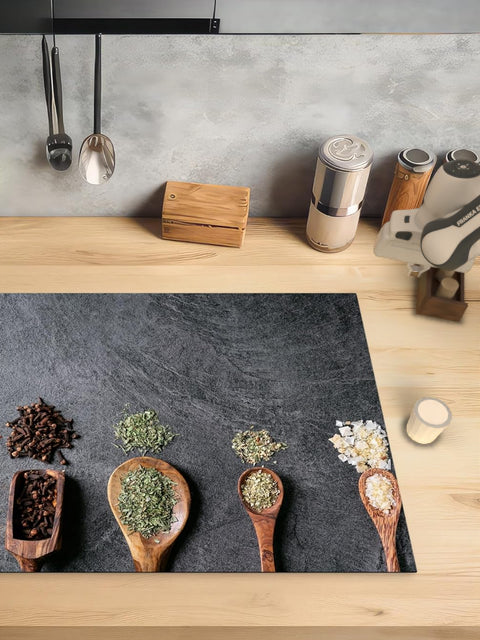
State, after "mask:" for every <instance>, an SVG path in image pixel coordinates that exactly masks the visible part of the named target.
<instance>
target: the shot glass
mask: <svg viewBox="0 0 480 640" xmlns="http://www.w3.org/2000/svg"><path fill="white" fill-rule="evenodd" d="M412 408H413V409H412V411H411V414H410V416H409V419H408V421H407V424H406V433H407V435H408V437H409V438H410V439H411V440H412V441H414V442H416V443H418V444H422V445H426V444H430V443H432V442H434V441H435V440H436V439H437V438H438V437H439V436H440V435H441V434H442V432H444V430H445V429H446V428H447V427H448V426H449V425H450V423H451V422H452V419H453V413H452V411H451V408H450V406H448V405H447V404H446V402H445V401H443V400H441V399H439V398H436V397H432V396H427V397H422V398H420V399H418V400H417V401H416V402H415V404H414V405H413V407H412Z"/></svg>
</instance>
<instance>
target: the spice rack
mask: <svg viewBox="0 0 480 640" xmlns="http://www.w3.org/2000/svg"><path fill="white" fill-rule="evenodd" d="M418 266H420V265H419V264H418ZM416 286H417V287H416V288H417V289H416V306H415V314H416V315H421V316H426V317H430V318H436V319H441V320H446V321H451V322H456V323H459V322H461V319H462V317H463V316H464V314H465V312H466V311H467V309H468V307H469V303H468V302H465V273H462V272H457V271H445V270H442V269H439V268H435V267H430V269H429V270H427V271H425V272H423V273H421V275H420V277H417V285H416Z"/></svg>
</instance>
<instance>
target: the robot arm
mask: <svg viewBox="0 0 480 640" xmlns="http://www.w3.org/2000/svg"><path fill="white" fill-rule="evenodd" d="M372 252H373V254H374V256H375V257H376V258H383V259H388V260H393V261H398V262H403V263H406V266H407V271H406V276H408V277H409V276H410V277H414V278H418V277H420V275H421V273H423V272H425V271H427V270H429V269H430V267H435V268H439V269H442V270H445V271H457V272H462V273H464V274H465V273H468V272H470V271H471V270H472V268H473V266H474V264H475V260H476V258H478V257H480V163H478V162H476V161H474V160H470V159H464V158H456V159H453V160H449V161H447V162H445V163H443V164H442V165H441V166H439V168H438V169H437V171H436V172H435V174H434V175H433V177H432V178H431V179H430V183H429V185H427V188H426V190H425V192H424V195H423V203H422V204H421V205H420V206H419V207H417V208H411V209H397V210H393V211H392V212H391V215H390V218H389V221H387V222H386V223H384V224H383V226H382V227H381V228H380V230H379V231H378V233H377V235H376V237H375V240H374V243H373V249H372ZM419 265H420V266H419Z"/></svg>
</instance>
